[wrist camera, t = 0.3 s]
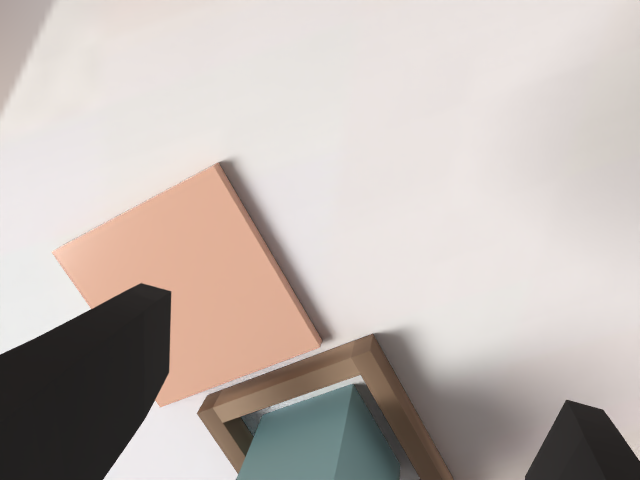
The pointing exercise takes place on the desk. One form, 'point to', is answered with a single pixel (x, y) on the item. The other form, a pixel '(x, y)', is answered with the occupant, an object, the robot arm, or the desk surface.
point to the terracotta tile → (197, 282)
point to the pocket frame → (315, 374)
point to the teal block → (320, 442)
